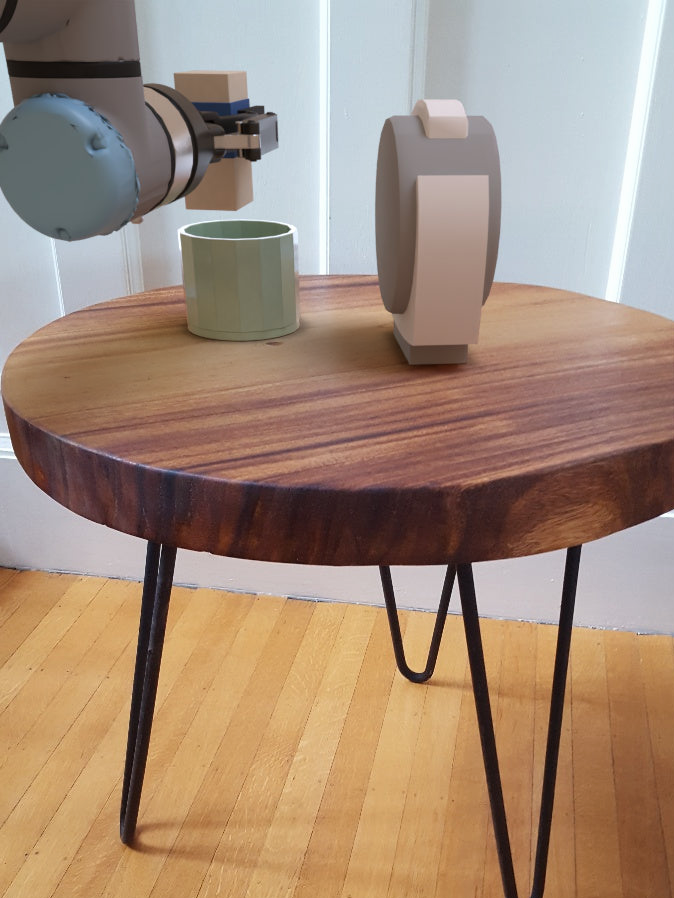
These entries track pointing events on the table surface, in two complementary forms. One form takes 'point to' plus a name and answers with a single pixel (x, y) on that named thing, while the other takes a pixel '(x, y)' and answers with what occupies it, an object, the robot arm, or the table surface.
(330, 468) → the table surface
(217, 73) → the eraser
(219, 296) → the cup
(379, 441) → the table surface
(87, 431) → the table surface
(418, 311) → the alarm clock
